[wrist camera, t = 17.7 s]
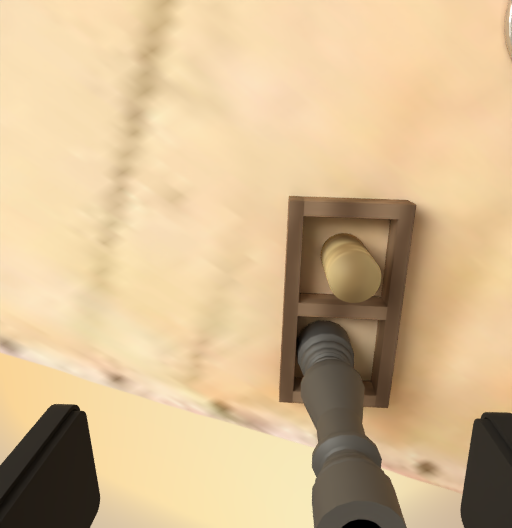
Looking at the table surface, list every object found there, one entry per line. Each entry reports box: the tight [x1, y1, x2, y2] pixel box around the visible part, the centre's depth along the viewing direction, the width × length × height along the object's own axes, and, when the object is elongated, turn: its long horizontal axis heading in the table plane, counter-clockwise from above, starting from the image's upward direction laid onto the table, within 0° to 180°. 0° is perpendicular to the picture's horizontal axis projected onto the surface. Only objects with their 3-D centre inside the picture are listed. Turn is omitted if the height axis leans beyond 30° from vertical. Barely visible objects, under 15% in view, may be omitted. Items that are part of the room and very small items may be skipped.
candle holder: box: [297, 321, 407, 528], centre depth 38 cm, size 6×6×25 cm
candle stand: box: [279, 196, 416, 408], centre depth 45 cm, size 12×23×8 cm, turn 178°
